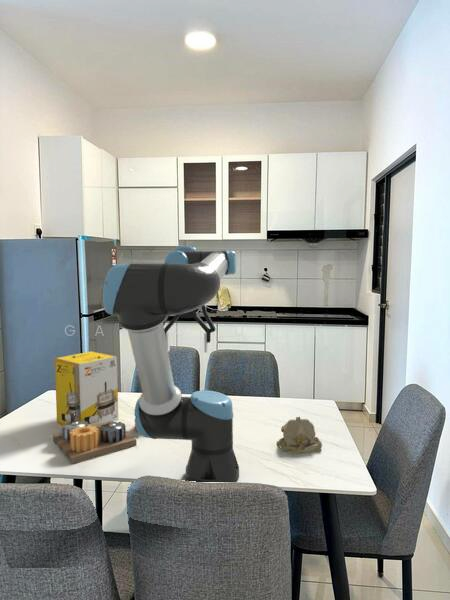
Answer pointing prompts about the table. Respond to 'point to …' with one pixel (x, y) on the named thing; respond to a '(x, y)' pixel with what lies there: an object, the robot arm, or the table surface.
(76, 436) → the orange gear
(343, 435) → the table surface
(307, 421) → the ceramic model
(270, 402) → the table surface
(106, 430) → the gear
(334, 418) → the table surface
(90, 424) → the packaging box
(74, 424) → the gear
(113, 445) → the gear board
